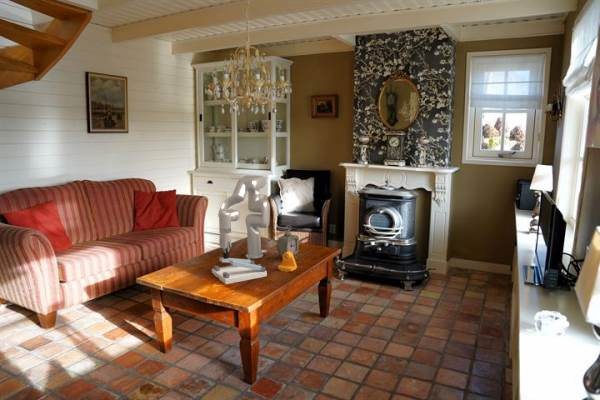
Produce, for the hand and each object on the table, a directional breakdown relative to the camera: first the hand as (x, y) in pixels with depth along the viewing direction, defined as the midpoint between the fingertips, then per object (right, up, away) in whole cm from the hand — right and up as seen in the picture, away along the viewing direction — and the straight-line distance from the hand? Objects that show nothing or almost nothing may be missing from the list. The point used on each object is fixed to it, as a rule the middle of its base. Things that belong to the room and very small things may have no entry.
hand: (226, 258), depth 296 cm
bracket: (+39, -9, +7) cm, 41 cm away
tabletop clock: (+39, -5, +30) cm, 50 cm away
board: (+9, -10, -2) cm, 14 cm away
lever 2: (+14, -4, -9) cm, 17 cm away
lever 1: (+6, -3, +4) cm, 8 cm away
